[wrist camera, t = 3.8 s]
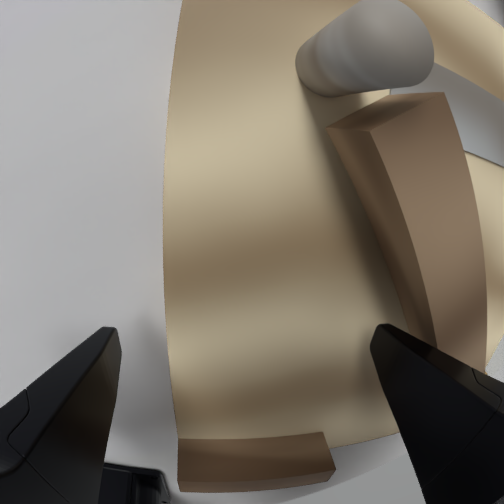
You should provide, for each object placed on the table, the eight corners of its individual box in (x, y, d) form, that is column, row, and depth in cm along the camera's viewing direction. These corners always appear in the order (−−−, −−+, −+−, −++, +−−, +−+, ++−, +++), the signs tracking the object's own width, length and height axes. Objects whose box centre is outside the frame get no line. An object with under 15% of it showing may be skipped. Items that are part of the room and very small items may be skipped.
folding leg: (320, 129, 7) (367, 133, 5) (388, 94, 7) (449, 90, 5) (419, 379, 12) (444, 416, 10) (457, 350, 12) (486, 384, 9)
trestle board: (445, 399, 17) (476, 446, 12) (181, 435, 14) (181, 513, 10) (541, 81, 8) (605, 91, 4) (202, -60, 6) (202, -150, 1)
